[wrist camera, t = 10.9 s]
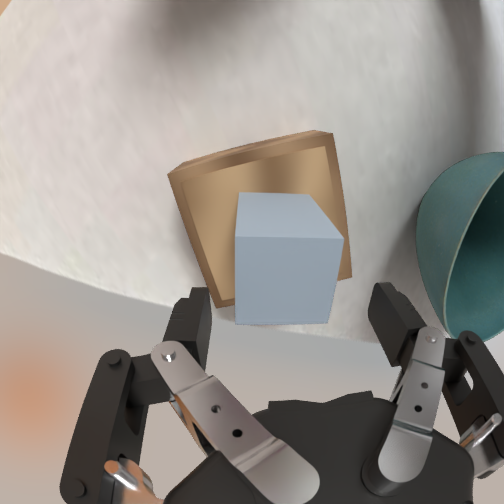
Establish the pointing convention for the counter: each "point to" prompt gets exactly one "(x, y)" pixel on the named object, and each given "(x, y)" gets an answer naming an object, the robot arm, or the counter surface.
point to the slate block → (284, 260)
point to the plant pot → (465, 246)
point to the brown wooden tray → (255, 181)
